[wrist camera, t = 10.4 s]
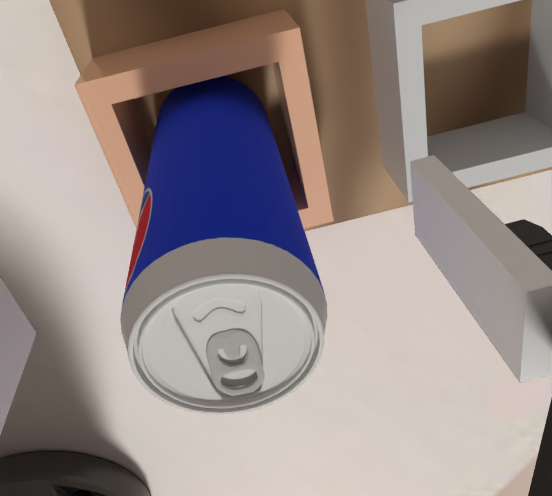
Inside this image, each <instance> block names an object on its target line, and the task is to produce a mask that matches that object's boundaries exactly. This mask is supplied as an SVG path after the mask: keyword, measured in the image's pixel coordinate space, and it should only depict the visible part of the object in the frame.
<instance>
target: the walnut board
mask: <svg viewBox="0 0 552 496" xmlns="http://www.w3.org/2000/svg"><path fill="white" fill-rule="evenodd" d="M49 1H50V3H51V6H52V8H53V10H54V13H55V15H56V17H57V20H58V22H59V25H60V27H61V29H62V32H63V34H64V36H65V39H66V41H67V43H68V46H69V48H70V51H71V53H72V55H73V58H74V60H75V62H76V65H77V67H78V70H79V72H80V74H82V73H83V71H84V70H85V68H86V67H87V65H88V64H89V62H90V61H91V59H92V58H94V57H98V56H102V55H106V54H110V53H114V52H118V51H122V50H126V49H129V48H133V47H137V46H141V45H145V44H149V43H153V42H157V41H161V40H165V39H169V38H173V37H176V36H180V35H184V34H188V33H192V32H196V31H200V30H204V29H208V28H212V27H216V26H220V25H223V24H227V23H231V22H235V21H239V20H243V19H247V18H251V17H255V16H259V15H263V14H267V13H270V12H274V11H278V10H282V9H285V10H286V11H287V13H288V14H289V15H290V16H291V17H292V19H293V20H294V21H295V22H296V24H297V25H298V26H299V27H300V32H301V37H302V43H303V49H304V55H305V60H306V66H307V72H308V77H309V83H310V89H311V95H312V100H313V106H314V112H315V117H316V123H317V129H318V135H319V140H320V146H321V152H322V157H323V163H324V169H325V175H326V180H327V186H328V192H329V197H330V203H331V209H332V215H333V220H334V221H333V222H329V223H325V224H321V225H317V226H313V227H309V228H305V229H304V231H308V230H312V229H316V228H320V227H324V226H328V225H332V224H336V223H340V222H344V221H348V220H352V219H356V218H360V217H364V216H368V215H372V214H376V213H380V212H384V211H388V210H392V209H396V208H400V207H404V206H408V205H412V204H413V202H409V203H408V201H407V200H406V198H405V197H404V196H403V194H402V193H401V191H400V190H399V188H398V187H397V186H396V184H395V183H394V181H393V180H392V179H391V177H390V176H389V174H388V173H387V171H386V170H385V169H384V167H383V165H382V156H381V146H380V136H379V127H378V117H377V108H376V98H375V89H374V79H373V69H372V60H371V50H370V41H369V31H368V22H367V12H366V2H365V0H49ZM531 11H532V0H520V1H516V2H512V3H508V4H504V5H500V6H496V7H492V8H488V9H484V10H480V11H476V12H473V13H469V14H465V15H461V16H457V17H453V18H449V19H445V20H441V21H437V22H433V23H429V24H425V25H421V26H422V46H423V66H424V87H425V107H426V127H427V137H428V136H432V135H436V134H440V133H444V132H448V131H452V130H456V129H460V128H464V127H468V126H472V125H476V124H480V123H484V122H488V121H491V120H495V119H499V118H503V117H507V116H511V115H515V114H519V113H523V112H525V106H526V91H527V75H528V59H529V43H530V27H531ZM225 76H226V77H230V78H232V79H235V80H237V81H239V82H241V83H243V84H244V85H246V86H247V87H248V88H250V89H251V90H252V91H253V92H254V93H255V94H256V95H257V97H258V98H259V99H260V101H261V103H262V104H263V106H264V108H265V111H266V113H267V116H268V120H269V123H270V126H271V129H272V132H273V135H274V138H275V141H276V144H277V147H278V151H279V154H280V157H281V160H282V163H283V166H284V169H285V172H289V171H293V170H294V165H293V160H292V155H291V151H290V146H289V141H288V137H287V132H286V127H285V122H284V118H283V113H282V108H281V103H280V99H279V94H278V89H277V85H276V80H275V75H274V70H273V66H272V64H268V65H264V66H260V67H256V68H252V69H248V70H244V71H240V72H236V73H232V74H228V75H225ZM174 89H175V88H173V89H169V90H166V91H162V92H158V93H154V94H150V95H146V96H142V97H138V98H134V99H133V102H134V105H135V107H136V110H137V113H138V115H139V118H140V121H141V123H142V126H143V129H144V131H145V134H146V137H147V139H148V142H149V145H150V147H151V150H152V145H153V140H154V134H155V129H156V124H157V118H158V114H159V111H160V108H161V106H162V104H163V102H164V100H165V99H166V97H167V96H168V95H169V93H170V92H171V91H172V90H174ZM548 170H552V167H549V168H545V169H541V170H537V171H533V172H529V173H525V174H521V175H517V176H513V177H509V178H505V179H501V180H497V181H493V182H489V183H485V184H481V185H477V186H473V187H469V188H468V189H469V190H472V189H476V188H480V187H484V186H488V185H492V184H496V183H500V182H504V181H508V180H512V179H516V178H520V177H524V176H528V175H532V174H536V173H540V172H544V171H548Z"/></svg>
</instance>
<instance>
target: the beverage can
mask: <svg viewBox="0 0 552 496" xmlns="http://www.w3.org/2000/svg"><path fill="white" fill-rule="evenodd" d="M326 320H327V303H326V299H325V294H324V290H323V287H322V284H321V281H320V278H319V275H318V272H317V269H316V266H315V263H314V259H313V256H312V253H311V250H310V247H309V244H308V241H307V238H306V235H305V231H304V228H303V225H302V222H301V219H300V216H299V213H298V210H297V207H296V203H295V200H294V197H293V194H292V191H291V188H290V185H289V182H288V179H287V175H286V172H285V169H284V166H283V163H282V160H281V157H280V154H279V151H278V147H277V144H276V141H275V138H274V135H273V132H272V129H271V126H270V123H269V120H268V116H267V113H266V111H265V108H264V106H263V104H262V103H261V101H260V99H259V98H258V97H257V95H256V94H255V93H254V92H253V91H252V90H251V89H250V88H248V87H247V86H246V85H244V84H243V83H241V82H239V81H237V80H235V79H232V78H230V77H226V76H221V77H217V78H213V79H209V80H205V81H201V82H197V83H193V84H189V85H185V86H181V87H177V88H175V89H174V90H172V91H171V92H170V93H169V95H168V96H167V97H166V99H165V100H164V102H163V104H162V106H161V108H160V111H159V114H158V118H157V124H156V129H155V134H154V140H153V145H152V150H151V156H150V161H149V166H148V171H147V177H146V182H145V187H144V193H143V198H142V203H141V209H140V214H139V219H138V225H137V230H136V235H135V240H134V246H133V251H132V256H131V262H130V267H129V272H128V278H127V283H126V288H125V293H124V299H123V304H122V311H121V329H122V334H123V338H124V341H125V344H126V348H127V351H128V357H129V361H130V364H131V367H132V370H133V372H134V374H135V376H136V377H137V379H138V381H139V382H140V383H141V384H142V385H143V386H144V388H145V389H146V390H147V391H149V392H150V393H151V394H152V395H154V396H155V397H156V398H158V399H160V400H161V401H163V402H165V403H167V404H169V405H171V406H174V407H176V408H179V409H183V410H186V411H190V412H195V413H201V414H212V415H225V414H236V413H243V412H248V411H252V410H256V409H260V408H262V407H265V406H268V405H270V404H273V403H275V402H277V401H279V400H281V399H283V398H284V397H286V396H288V395H289V394H291V393H292V392H294V391H295V390H296V389H297V388H298V387H300V386H301V385H302V384H303V383H304V382H305V381H306V380H307V379H308V378H309V376H310V375H311V374H312V373H313V371H314V369H315V368H316V366H317V365H318V362H319V360H320V357H321V355H322V351H323V346H324V334H325V326H326Z"/></svg>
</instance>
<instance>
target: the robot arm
mask: <svg viewBox="0 0 552 496" xmlns="http://www.w3.org/2000/svg"><path fill="white" fill-rule="evenodd" d="M410 171H411V184H412V197H413V211H414V224H415V235H416V237H417V238H418V240H419V241H420V242H421V244H422V245H423V247H424V248H425V249H426V251H427V252H428V254H429V255H430V257H431V258H432V259H433V261H434V262H435V264H436V265H437V266H438V268H439V269H440V271H441V272H442V273H443V275H444V276H445V278H446V279H447V281H448V282H449V283H450V285H451V286H452V288H453V289H454V290H455V292H456V293H457V295H458V296H459V298H460V299H461V300H462V302H463V303H464V305H465V306H466V307H467V309H468V310H469V312H470V313H471V314H472V316H473V317H474V319H475V320H476V322H477V323H478V324H479V326H480V327H481V329H482V330H483V331H484V333H485V334H486V336H487V337H488V339H489V340H490V341H491V343H492V344H493V346H494V347H495V348H496V350H497V351H498V353H499V354H500V356H501V357H502V358H503V360H504V361H505V363H506V364H507V365H508V367H509V368H510V370H511V371H512V372H513V374H514V375H515V377H516V378H517V380H518V381H519V382H520V383H522V382H526V381H530V380H534V379H537V378H541V377H545V376H549V375H552V235H551V234H550V233H548V232H547V231H546V230H545V229H544V228H543V227H541V226H538V225H536V224H534V223H531V222H529V221H526V220H524V219H523V220H519V221H516V222H512V223H508V224H504V223H503V222H502V221H501V220H500V219H499V218H498V217H497V216H495V215H494V214H493V213H492V212H491V211H490V210H489V209H488V208H487V207H486V206H485V205H484V204H483V203H482V202H481V201H480V200H479V199H478V198H477V197H476V196H475V195H474V194H473V193H472V192H471V191H470V190H469V189H468V188H467V187H466V186H465V185H464V184H463V183H462V182H461V181H460V180H459V179H458V178H457V177H456V176H455V175H454V174H453V173H452V172H451V171H450V170H449V169H448V168H447V167H446V166H445V165H444V164H443V163H442V162H441V161H440V160H439V159H437V158H436V157H435V156H434V155H432V156H428V157H424V158H420V159H417V160H413V161H410ZM36 334H37V333H36V332H35V330H34V328H33V327H32V325H31V324H30V322H29V321H28V319H27V318H26V316H25V314H24V313H23V311H22V310H21V308H20V307H19V305H18V304H17V302H16V300H15V299H14V297H13V296H12V294H11V293H10V291H9V290H8V288H7V286H6V285H5V283H4V282H3V280H2V279H1V277H0V435H1V432H2V429H3V426H4V424H5V421H6V418H7V415H8V412H9V410H10V407H11V404H12V401H13V398H14V396H15V393H16V390H17V387H18V384H19V382H20V379H21V376H22V373H23V370H24V368H25V365H26V362H27V359H28V357H29V354H30V351H31V348H32V345H33V343H34V340H35V337H36ZM0 496H150V494H149V492H148V490H147V488H146V487H145V485H144V484H143V483H142V482H141V481H140V480H139V479H138V478H137V477H136V476H134V475H133V474H132V473H130V472H129V471H127V470H125V469H124V468H122V467H120V466H118V465H116V464H113V463H111V462H108V461H106V460H103V459H99V458H96V457H92V456H88V455H83V454H76V453H67V452H34V453H25V454H19V455H14V456H9V457H6V458H2V459H0ZM528 496H552V399H551V403H550V407H549V412H548V416H547V420H546V424H545V428H544V432H543V436H542V440H541V445H540V449H539V453H538V457H537V461H536V466H535V470H534V474H533V478H532V482H531V486H530V491H529V494H528Z"/></svg>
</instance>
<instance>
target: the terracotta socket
mask: <svg viewBox="0 0 552 496" xmlns="http://www.w3.org/2000/svg"><path fill="white" fill-rule="evenodd" d="M268 64H272V66H273V70H274V75H275V80H276V85H277V89H278V94H279V99H280V103H281V108H282V113H283V118H284V122H285V127H286V132H287V137H288V141H289V146H290V151H291V155H292V160H293V165H294V170H293V171H289V172H286V175H287V179H288V182H289V185H290V188H291V191H292V194H293V197H294V200H295V203H296V207H297V210H298V213H299V216H300V219H301V222H302V225H303V228H304V229H305V228H309V227H313V226H317V225H321V224H325V223H329V222H333V221H334V220H333V215H332V209H331V203H330V197H329V192H328V186H327V180H326V175H325V169H324V163H323V157H322V152H321V146H320V140H319V135H318V129H317V123H316V117H315V112H314V106H313V100H312V95H311V89H310V83H309V77H308V72H307V66H306V60H305V55H304V49H303V43H302V37H301V32H300V27H299V26H298V25H297V24H296V22H295V21H294V20H293V19H292V17H291V16H290V15H289V14H288V13H287V11H286V10H285V9H282V10H278V11H274V12H270V13H267V14H263V15H259V16H255V17H251V18H247V19H243V20H239V21H235V22H231V23H227V24H223V25H220V26H216V27H212V28H208V29H204V30H200V31H196V32H192V33H188V34H184V35H180V36H176V37H173V38H169V39H165V40H161V41H157V42H153V43H149V44H145V45H141V46H137V47H133V48H129V49H126V50H122V51H118V52H114V53H110V54H106V55H102V56H98V57H94V58H92V59H91V61H90V62H89V64H88V65H87V67H86V68H85V70H84V71H83V73H82V74H81V76H80V77H79V79H78V80H77V82H76V83H75V88H76V90H77V92H78V94H79V97H80V99H81V101H82V104H83V106H84V108H85V111H86V113H87V115H88V118H89V120H90V122H91V124H92V127H93V129H94V131H95V134H96V136H97V138H98V141H99V143H100V145H101V148H102V150H103V152H104V154H105V157H106V159H107V161H108V164H109V166H110V168H111V171H112V173H113V175H114V178H115V180H116V182H117V184H118V187H119V189H120V191H121V194H122V196H123V198H124V201H125V203H126V205H127V208H128V210H129V212H130V214H131V217H132V219H133V221H134V224H135V226H136V228H137V225H138V219H139V214H140V209H141V203H142V198H143V193H144V187H145V182H146V177H147V171H148V166H149V161H150V156H151V147H150V145H149V142H148V139H147V137H146V134H145V131H144V129H143V126H142V123H141V121H140V118H139V115H138V113H137V110H136V107H135V105H134V102H133V99H134V98H138V97H142V96H146V95H150V94H154V93H158V92H162V91H166V90H169V89H173V88H177V87H181V86H185V85H189V84H193V83H197V82H201V81H205V80H209V79H213V78H217V77H221V76H225V75H228V74H232V73H236V72H240V71H244V70H248V69H252V68H256V67H260V66H264V65H268Z"/></svg>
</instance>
